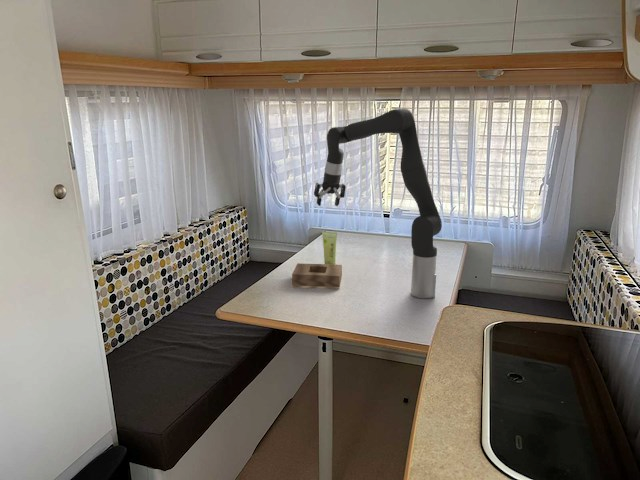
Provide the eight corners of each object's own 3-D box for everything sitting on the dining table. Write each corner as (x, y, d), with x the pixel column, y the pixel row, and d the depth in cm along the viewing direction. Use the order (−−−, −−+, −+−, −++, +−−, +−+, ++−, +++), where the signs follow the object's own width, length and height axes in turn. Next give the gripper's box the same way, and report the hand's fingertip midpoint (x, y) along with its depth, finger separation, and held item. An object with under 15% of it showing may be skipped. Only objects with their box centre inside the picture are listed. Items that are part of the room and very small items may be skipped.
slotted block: (341, 277, 213) (341, 264, 212) (339, 289, 200) (339, 275, 198) (297, 275, 216) (297, 263, 214) (292, 287, 202) (292, 274, 201)
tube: (325, 275, 217) (325, 233, 211) (322, 271, 221) (321, 230, 216) (337, 273, 218) (337, 232, 213) (333, 270, 223) (333, 229, 217)
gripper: (320, 173, 208) (315, 208, 215) (350, 175, 213) (344, 208, 220) (315, 168, 214) (310, 202, 221) (344, 169, 219) (338, 202, 226)
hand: (327, 205), depth 220 cm, fingers open, 8 cm apart
